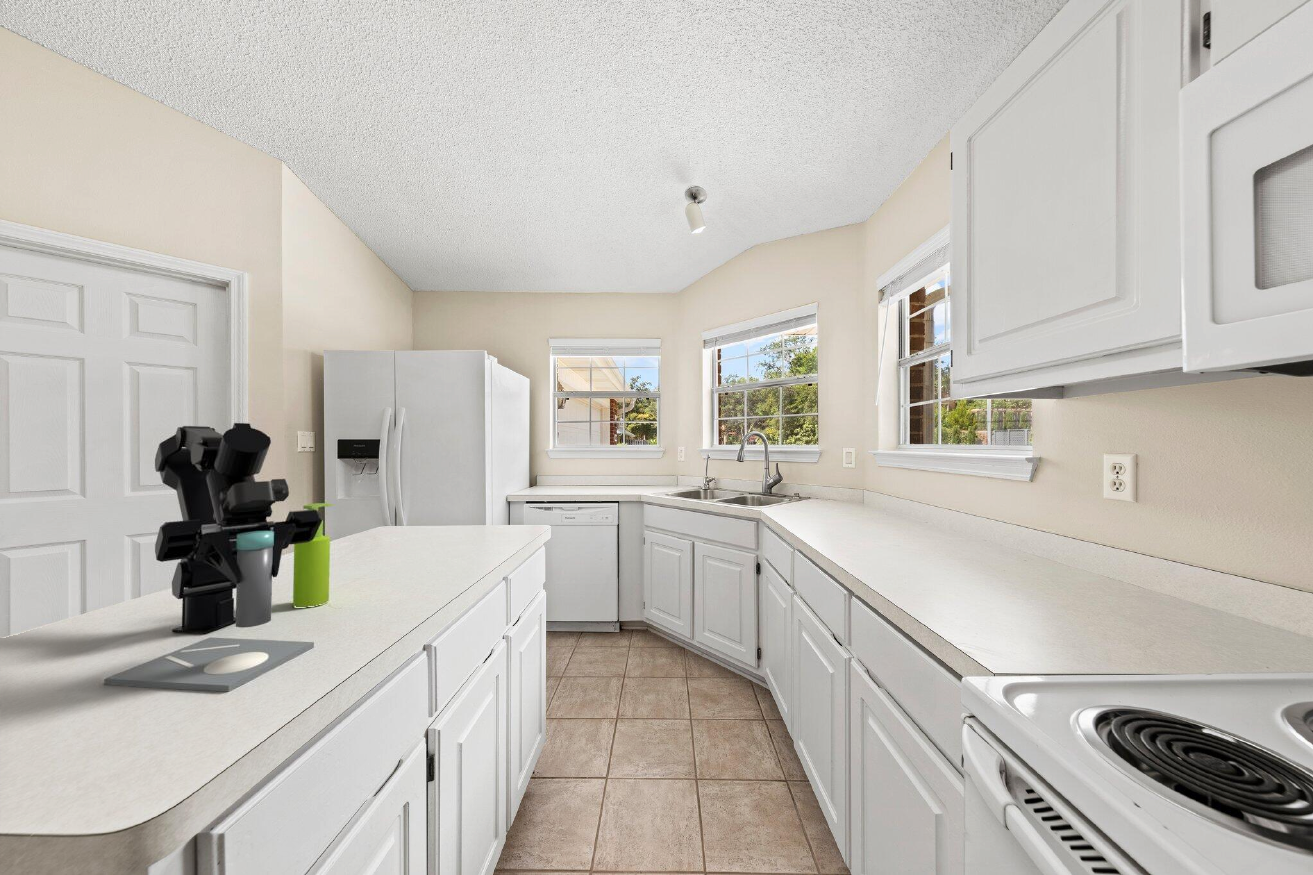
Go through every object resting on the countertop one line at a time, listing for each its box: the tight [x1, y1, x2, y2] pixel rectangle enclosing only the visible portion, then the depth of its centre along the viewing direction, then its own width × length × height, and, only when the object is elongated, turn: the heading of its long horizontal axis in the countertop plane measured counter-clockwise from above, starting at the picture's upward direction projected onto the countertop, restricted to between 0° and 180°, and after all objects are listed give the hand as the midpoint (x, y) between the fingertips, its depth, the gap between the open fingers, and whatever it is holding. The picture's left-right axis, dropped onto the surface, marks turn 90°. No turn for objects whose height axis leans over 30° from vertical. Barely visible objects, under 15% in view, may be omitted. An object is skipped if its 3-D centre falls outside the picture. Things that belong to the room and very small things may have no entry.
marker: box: [235, 531, 274, 629], centre depth 71 cm, size 4×4×13 cm
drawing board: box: [103, 636, 315, 693], centre depth 71 cm, size 18×14×1 cm
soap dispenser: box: [292, 502, 333, 607], centre depth 98 cm, size 6×7×20 cm
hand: (257, 578), depth 70 cm, fingers closed on marker, 4 cm apart
